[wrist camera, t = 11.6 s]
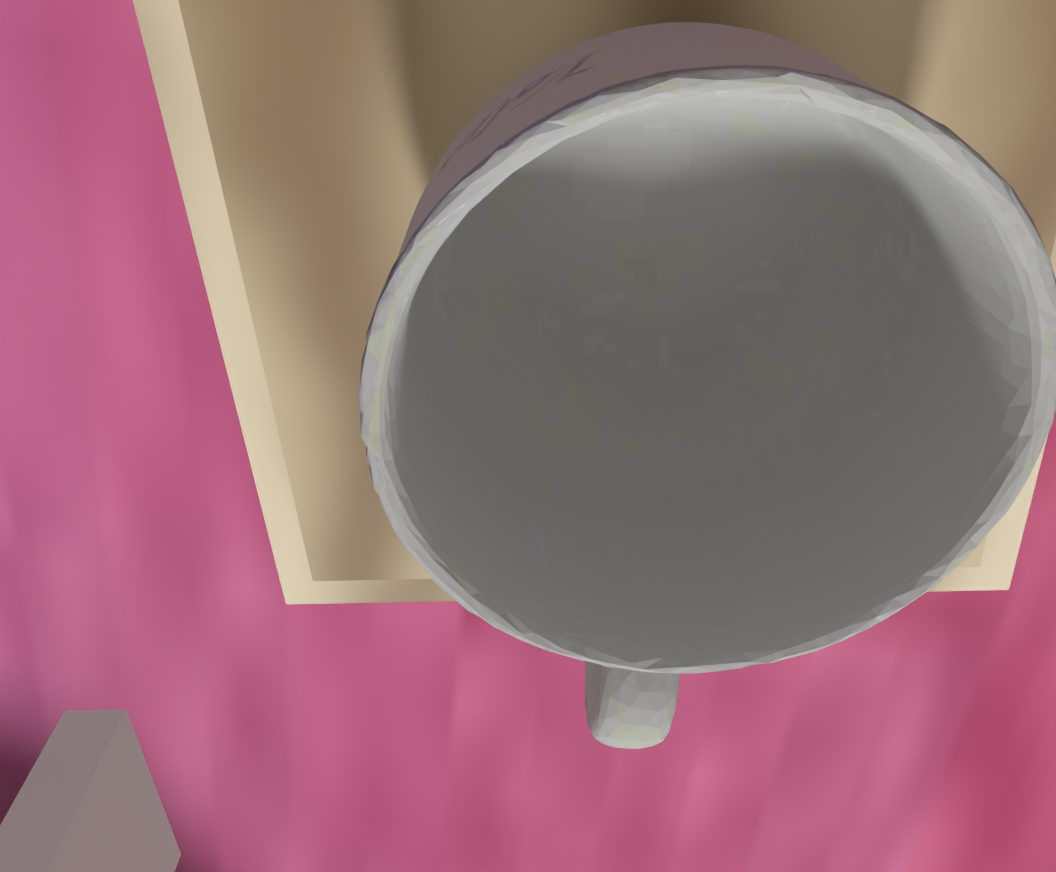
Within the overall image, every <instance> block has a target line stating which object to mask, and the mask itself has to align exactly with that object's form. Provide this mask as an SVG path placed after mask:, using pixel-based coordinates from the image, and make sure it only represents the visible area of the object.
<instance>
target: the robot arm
mask: <svg viewBox="0 0 1056 872" xmlns="http://www.w3.org/2000/svg"><path fill="white" fill-rule="evenodd" d="M180 856H181V852H180V850H179V847H178V844H177V842H176V839H175V837H174V834H173V831H172V829H171V826H170V824H169V821H168V818H167V816H166V813H165V810H164V808H163V805H162V803H161V800H160V797H159V795H158V792H157V789H156V787H155V784H154V782H153V779H152V776H151V774H150V771H149V768H148V766H147V763H146V761H145V758H144V755H143V753H142V750H141V747H140V745H139V742H138V740H137V737H136V734H135V732H134V729H133V726H132V724H131V721H130V719H129V716H128V713H127V711H126V709H119V710H76V711H64V713H63V714H62V716H61V718H60V720H59V721H58V723H57V725H56V727H55V729H54V730H53V732H52V734H51V736H50V738H49V739H48V741H47V743H46V745H45V746H44V748H43V750H42V752H41V754H40V755H39V757H38V759H37V761H36V762H35V764H34V766H33V768H32V770H31V771H30V773H29V775H28V777H27V779H26V780H25V782H24V784H23V786H22V787H21V789H20V791H19V793H18V795H17V796H16V798H15V800H14V802H13V803H12V805H11V807H10V809H9V811H8V812H7V814H6V816H5V818H4V819H3V821H2V823H1V825H0V872H175V869H176V867H177V864H178V861H179V859H180Z"/></svg>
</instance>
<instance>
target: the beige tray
mask: <svg viewBox="0 0 1056 872" xmlns="http://www.w3.org/2000/svg"><path fill="white" fill-rule="evenodd" d="M133 3H134V7H135V11H136V15H137V19H138V23H139V27H140V31H141V35H142V39H143V43H144V47H145V51H146V54H147V58H148V62H149V66H150V70H151V74H152V78H153V82H154V86H155V90H156V94H157V98H158V102H159V106H160V110H161V114H162V117H163V121H164V125H165V129H166V133H167V137H168V141H169V145H170V149H171V153H172V157H173V161H174V165H175V169H176V173H177V177H178V181H179V184H180V188H181V192H182V196H183V200H184V204H185V208H186V212H187V216H188V220H189V224H190V228H191V232H192V236H193V240H194V244H195V247H196V251H197V255H198V259H199V263H200V267H201V271H202V275H203V279H204V283H205V287H206V291H207V295H208V299H209V303H210V307H211V310H212V314H213V318H214V322H215V326H216V330H217V334H218V338H219V342H220V346H221V350H222V354H223V358H224V362H225V366H226V370H227V373H228V377H229V381H230V385H231V389H232V393H233V397H234V401H235V405H236V409H237V413H238V417H239V421H240V425H241V429H242V433H243V437H244V440H245V444H246V448H247V452H248V456H249V460H250V464H251V468H252V472H253V476H254V480H255V484H256V488H257V492H258V496H259V500H260V503H261V507H262V511H263V515H264V519H265V523H266V527H267V531H268V535H269V539H270V543H271V547H272V551H273V555H274V559H275V563H276V566H277V570H278V574H279V578H280V582H281V586H282V590H283V594H284V598H285V602H286V604H327V603H377V602H427V601H456V600H454V599H453V598H452V597H451V596H450V595H449V594H447V593H446V592H445V591H444V590H443V589H442V588H441V587H439V586H438V585H437V584H436V583H435V582H434V580H433V579H432V578H431V577H430V576H429V575H428V574H427V572H426V571H425V570H424V569H423V568H422V567H421V566H420V564H419V563H418V562H417V561H416V560H415V559H414V558H413V556H412V555H411V554H410V553H409V552H408V550H407V549H406V548H405V547H404V546H403V544H402V543H401V541H400V540H399V538H398V536H397V534H396V532H395V531H394V529H393V527H392V525H391V524H390V522H389V520H388V518H387V516H386V514H385V512H384V510H383V508H382V505H381V503H380V498H379V495H378V494H377V492H376V491H375V489H374V487H373V482H372V478H371V473H370V469H369V465H368V461H367V457H366V447H365V443H364V441H363V439H362V437H361V431H360V411H359V407H358V397H359V390H360V375H361V361H362V357H363V353H364V349H365V345H366V333H367V330H368V327H369V324H370V321H371V318H372V315H373V312H374V309H375V306H376V303H377V301H378V298H379V296H380V293H381V291H382V288H383V286H384V284H385V281H386V279H387V277H388V275H389V273H390V271H391V269H392V267H393V265H394V263H395V261H396V260H397V258H398V255H399V251H400V249H401V246H402V243H403V241H404V238H405V235H406V232H407V230H408V227H409V224H410V222H411V219H412V216H413V214H414V211H415V209H416V207H417V204H418V202H419V200H420V198H421V195H422V194H423V192H424V190H425V188H426V186H427V184H428V182H429V180H430V178H431V176H432V174H433V173H434V171H435V169H436V167H437V165H438V164H439V162H440V161H441V159H442V158H443V156H444V155H445V153H446V151H447V150H448V148H449V147H450V145H451V144H452V142H453V141H454V140H455V139H456V137H457V136H458V135H459V134H460V133H461V131H462V130H463V129H464V128H465V127H466V125H467V124H468V123H469V122H470V121H471V119H472V118H473V117H474V116H475V115H476V114H477V112H478V111H479V110H481V109H482V108H483V107H484V106H485V105H486V104H487V103H488V102H489V101H490V100H491V99H492V98H493V97H494V96H495V95H496V94H497V93H498V92H500V91H501V90H502V89H503V88H504V87H506V86H507V85H508V84H509V83H510V82H512V81H513V80H514V79H516V78H518V77H519V76H521V75H522V74H524V73H525V72H527V71H528V70H530V69H531V68H533V67H534V66H536V65H537V64H539V63H541V62H542V61H544V60H545V59H547V58H549V57H551V56H553V55H555V54H557V53H559V52H561V51H564V50H566V49H568V48H570V47H572V46H574V45H576V44H578V43H580V42H584V41H587V40H590V39H593V38H596V37H599V36H602V35H605V34H608V33H612V32H615V31H618V30H622V29H627V28H632V27H637V26H643V25H651V24H660V23H668V22H701V23H713V24H723V25H729V26H734V27H740V28H746V29H752V30H756V31H760V32H765V33H768V34H771V35H773V36H776V37H779V38H781V39H784V40H787V41H790V42H792V43H795V44H797V45H800V46H802V47H804V48H807V49H809V50H812V51H814V52H816V53H818V54H820V55H821V56H823V57H825V58H827V59H829V60H831V61H833V62H834V63H836V64H838V65H839V66H841V67H843V68H844V69H846V70H848V71H849V72H851V73H853V74H854V75H856V76H857V77H859V78H861V79H862V80H864V81H865V82H867V83H868V84H870V85H871V86H873V87H874V88H876V89H877V90H879V91H880V92H883V93H886V94H888V95H891V96H894V97H895V98H897V99H899V100H901V101H903V102H905V103H906V104H908V105H910V106H912V107H914V108H915V109H917V110H919V111H920V112H922V113H924V114H925V115H927V116H929V117H930V118H932V119H934V120H935V121H937V122H939V123H941V124H943V125H945V126H947V127H948V128H949V129H950V130H952V131H953V132H954V133H955V134H956V135H958V136H959V137H960V138H961V139H962V140H963V141H965V142H966V143H967V144H968V145H969V146H970V147H972V148H973V149H974V150H975V151H976V152H978V153H979V154H980V155H981V156H982V157H983V158H984V159H985V160H986V161H987V162H988V163H989V164H990V165H991V166H992V167H993V168H994V169H995V170H996V171H997V172H998V173H999V174H1000V175H1001V176H1002V177H1003V178H1004V179H1005V180H1006V181H1007V182H1008V183H1009V185H1010V186H1011V187H1012V188H1013V189H1014V191H1015V192H1016V194H1017V196H1018V197H1019V199H1020V201H1021V202H1022V204H1023V205H1024V207H1025V208H1026V210H1027V212H1028V213H1029V215H1030V216H1031V218H1032V220H1033V221H1034V223H1035V226H1036V228H1037V230H1038V233H1039V235H1040V237H1041V240H1042V242H1043V244H1044V247H1045V249H1046V251H1047V254H1048V256H1049V258H1050V261H1051V264H1052V268H1053V271H1054V275H1055V278H1056V0H133ZM1047 437H1048V435H1047ZM1046 440H1047V438H1046ZM1046 440H1045V443H1044V445H1043V447H1042V450H1041V452H1040V454H1039V457H1038V459H1037V461H1036V463H1035V465H1034V467H1033V469H1032V471H1031V473H1030V475H1029V477H1028V479H1027V481H1026V483H1025V485H1024V486H1023V488H1022V489H1021V491H1020V493H1019V494H1018V496H1017V497H1016V499H1015V501H1014V502H1013V504H1012V506H1011V507H1010V509H1009V510H1008V512H1007V513H1006V514H1005V515H1004V516H1003V517H1002V518H1001V519H1000V520H999V522H998V523H997V524H996V525H995V526H994V527H993V528H992V529H991V530H990V531H989V532H988V534H987V535H986V536H985V538H984V539H983V540H982V541H981V543H980V544H979V545H978V547H977V548H976V549H975V550H974V551H973V552H972V553H971V554H970V555H969V556H968V557H967V558H966V559H965V560H964V561H963V562H962V563H961V564H960V565H959V566H957V567H956V568H955V569H954V570H953V571H952V572H950V573H949V574H948V575H947V576H946V577H944V578H943V579H942V580H941V581H940V582H939V583H938V584H937V585H936V586H935V587H934V588H932V589H931V590H929V591H977V590H1009V587H1010V583H1011V579H1012V575H1013V571H1014V567H1015V563H1016V559H1017V555H1018V551H1019V547H1020V543H1021V539H1022V535H1023V531H1024V528H1025V524H1026V520H1027V516H1028V512H1029V508H1030V504H1031V500H1032V496H1033V492H1034V488H1035V484H1036V480H1037V476H1038V472H1039V468H1040V464H1041V460H1042V456H1043V452H1044V448H1045V444H1046Z"/></svg>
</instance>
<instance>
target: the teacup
mask: <svg viewBox="0 0 1056 872" xmlns="http://www.w3.org/2000/svg"><path fill="white" fill-rule="evenodd" d="M358 407H359V411H360V431H361V437H362V439H363V441H364V443H365V447H366V457H367V461H368V465H369V469H370V473H371V478H372V482H373V487H374V489H375V491H376V492H377V494H378V495H379V498H380V503H381V505H382V508H383V510H384V512H385V514H386V516H387V518H388V520H389V522H390V524H391V525H392V527H393V529H394V531H395V532H396V534H397V536H398V538H399V540H400V541H401V543H402V544H403V546H404V547H405V548H406V549H407V550H408V552H409V553H410V554H411V555H412V556H413V558H414V559H415V560H416V561H417V562H418V563H419V564H420V566H421V567H422V568H423V569H424V570H425V571H426V572H427V574H428V575H429V576H430V577H431V578H432V579H433V580H434V582H435V583H436V584H437V585H438V586H439V587H441V588H442V589H443V590H444V591H445V592H446V593H447V594H449V595H450V596H451V597H452V598H453V599H454V600H456V601H457V602H458V603H459V604H460V605H462V606H463V607H464V608H465V609H467V610H468V611H469V612H471V613H473V614H475V615H478V616H479V617H480V618H482V619H483V620H485V621H486V622H488V623H489V624H490V625H492V626H493V627H495V628H497V629H499V630H501V631H503V632H505V633H507V634H509V635H511V636H513V637H515V638H517V639H519V640H522V641H524V642H527V643H529V644H532V645H534V646H537V647H539V648H542V649H544V650H547V651H551V652H554V653H558V654H561V655H565V656H568V657H571V658H575V659H579V660H583V661H586V666H585V706H586V714H587V722H588V725H589V728H590V731H591V733H592V734H593V736H594V738H595V739H596V740H598V741H600V742H601V743H603V744H605V745H609V746H612V747H615V748H632V749H640V748H646V747H650V746H653V745H656V744H658V743H660V742H662V741H663V740H664V739H665V737H666V736H667V734H668V732H669V730H670V727H671V723H672V720H673V716H674V712H675V708H676V701H677V694H678V687H679V677H680V673H705V672H714V671H722V670H730V669H738V668H743V667H746V666H750V665H754V664H765V663H772V662H776V661H780V660H784V659H788V658H792V657H796V656H799V655H803V654H807V653H811V652H815V651H817V650H820V649H823V648H825V647H828V646H830V645H833V644H836V643H838V642H841V641H843V640H845V639H847V638H849V637H851V636H853V635H855V634H857V633H859V632H861V631H864V630H866V629H868V628H870V627H872V626H874V625H875V624H877V623H879V622H881V621H883V620H884V619H886V618H888V617H889V616H891V615H893V614H894V613H896V612H898V611H899V610H901V609H902V608H904V607H905V606H907V605H908V604H910V603H911V602H912V601H914V600H915V599H917V598H918V597H920V596H921V595H923V594H924V593H926V592H927V591H929V590H931V589H932V588H934V587H935V586H936V585H937V584H938V583H939V582H940V581H941V580H942V579H943V578H944V577H946V576H947V575H948V574H949V573H950V572H952V571H953V570H954V569H955V568H956V567H957V566H959V565H960V564H961V563H962V562H963V561H964V560H965V559H966V558H967V557H968V556H969V555H970V554H971V553H972V552H973V551H974V550H975V549H976V548H977V547H978V545H979V544H980V543H981V541H982V540H983V539H984V538H985V536H986V535H987V534H988V532H989V531H990V530H991V529H992V528H993V527H994V526H995V525H996V524H997V523H998V522H999V520H1000V519H1001V518H1002V517H1003V516H1004V515H1005V514H1006V513H1007V512H1008V510H1009V509H1010V507H1011V506H1012V504H1013V502H1014V501H1015V499H1016V497H1017V496H1018V494H1019V493H1020V491H1021V489H1022V488H1023V486H1024V485H1025V483H1026V481H1027V479H1028V477H1029V475H1030V473H1031V471H1032V469H1033V467H1034V465H1035V463H1036V461H1037V459H1038V457H1039V454H1040V452H1041V450H1042V447H1043V445H1044V443H1045V440H1046V438H1047V435H1048V433H1049V430H1050V428H1051V425H1052V423H1053V419H1054V414H1055V410H1056V278H1055V275H1054V271H1053V268H1052V264H1051V261H1050V258H1049V256H1048V254H1047V251H1046V249H1045V247H1044V244H1043V242H1042V240H1041V237H1040V235H1039V233H1038V230H1037V228H1036V226H1035V223H1034V221H1033V220H1032V218H1031V216H1030V215H1029V213H1028V212H1027V210H1026V208H1025V207H1024V205H1023V204H1022V202H1021V201H1020V199H1019V197H1018V196H1017V194H1016V192H1015V191H1014V189H1013V188H1012V187H1011V186H1010V185H1009V183H1008V182H1007V181H1006V180H1005V179H1004V178H1003V177H1002V176H1001V175H1000V174H999V173H998V172H997V171H996V170H995V169H994V168H993V167H992V166H991V165H990V164H989V163H988V162H987V161H986V160H985V159H984V158H983V157H982V156H981V155H980V154H979V153H978V152H976V151H975V150H974V149H973V148H972V147H970V146H969V145H968V144H967V143H966V142H965V141H963V140H962V139H961V138H960V137H959V136H958V135H956V134H955V133H954V132H953V131H952V130H950V129H949V128H948V127H947V126H945V125H943V124H941V123H939V122H937V121H935V120H934V119H932V118H930V117H929V116H927V115H925V114H924V113H922V112H920V111H919V110H917V109H915V108H914V107H912V106H910V105H908V104H906V103H905V102H903V101H901V100H899V99H897V98H895V97H894V96H891V95H888V94H886V93H883V92H880V91H879V90H877V89H876V88H874V87H873V86H871V85H870V84H868V83H867V82H865V81H864V80H862V79H861V78H859V77H857V76H856V75H854V74H853V73H851V72H849V71H848V70H846V69H844V68H843V67H841V66H839V65H838V64H836V63H834V62H833V61H831V60H829V59H827V58H825V57H823V56H821V55H820V54H818V53H816V52H814V51H812V50H809V49H807V48H804V47H802V46H800V45H797V44H795V43H792V42H790V41H787V40H784V39H781V38H779V37H776V36H773V35H771V34H768V33H765V32H760V31H756V30H752V29H746V28H740V27H734V26H729V25H723V24H713V23H701V22H668V23H660V24H651V25H643V26H637V27H632V28H627V29H622V30H618V31H615V32H612V33H608V34H605V35H602V36H599V37H596V38H593V39H590V40H587V41H584V42H580V43H578V44H576V45H574V46H572V47H570V48H568V49H566V50H564V51H561V52H559V53H557V54H555V55H553V56H551V57H549V58H547V59H545V60H544V61H542V62H541V63H539V64H537V65H536V66H534V67H533V68H531V69H530V70H528V71H527V72H525V73H524V74H522V75H521V76H519V77H518V78H516V79H514V80H513V81H512V82H510V83H509V84H508V85H507V86H506V87H504V88H503V89H502V90H501V91H500V92H498V93H497V94H496V95H495V96H494V97H493V98H492V99H491V100H490V101H489V102H488V103H487V104H486V105H485V106H484V107H483V108H482V109H481V110H479V111H478V112H477V114H476V115H475V116H474V117H473V118H472V119H471V121H470V122H469V123H468V124H467V125H466V127H465V128H464V129H463V130H462V131H461V133H460V134H459V135H458V136H457V137H456V139H455V140H454V141H453V142H452V144H451V145H450V147H449V148H448V150H447V151H446V153H445V155H444V156H443V158H442V159H441V161H440V162H439V164H438V165H437V167H436V169H435V171H434V173H433V174H432V176H431V178H430V180H429V182H428V184H427V186H426V188H425V190H424V192H423V194H422V195H421V198H420V200H419V202H418V204H417V207H416V209H415V211H414V214H413V216H412V219H411V222H410V224H409V227H408V230H407V232H406V235H405V238H404V241H403V243H402V246H401V249H400V251H399V255H398V258H397V260H396V261H395V263H394V265H393V267H392V269H391V271H390V273H389V275H388V277H387V279H386V281H385V284H384V286H383V288H382V291H381V293H380V296H379V298H378V301H377V303H376V306H375V309H374V312H373V315H372V318H371V321H370V324H369V327H368V330H367V333H366V345H365V349H364V353H363V357H362V361H361V375H360V390H359V397H358Z"/></svg>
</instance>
